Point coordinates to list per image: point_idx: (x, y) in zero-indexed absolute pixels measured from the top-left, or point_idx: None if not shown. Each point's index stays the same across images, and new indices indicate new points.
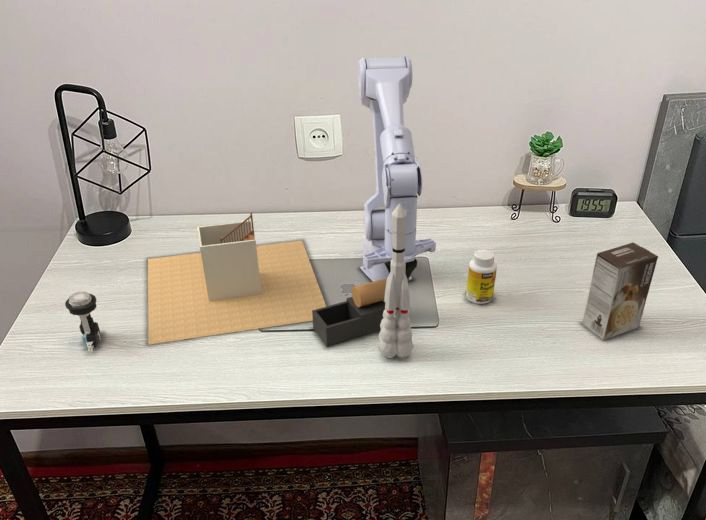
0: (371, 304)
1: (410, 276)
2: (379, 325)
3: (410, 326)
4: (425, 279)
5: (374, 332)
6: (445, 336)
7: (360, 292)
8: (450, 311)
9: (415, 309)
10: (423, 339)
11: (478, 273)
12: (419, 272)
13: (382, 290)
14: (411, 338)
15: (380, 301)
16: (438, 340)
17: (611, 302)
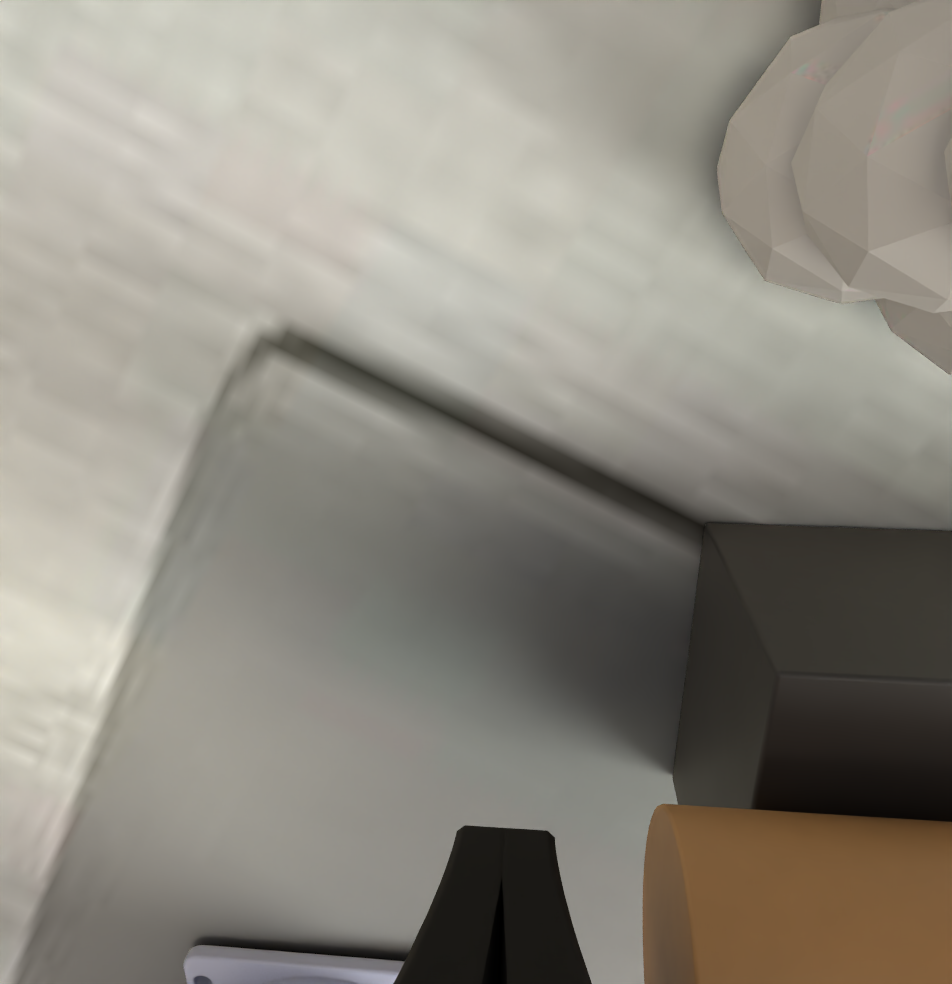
0: (941, 820)
1: (188, 977)
2: (848, 560)
3: (895, 23)
4: (92, 907)
5: (880, 530)
6: (256, 134)
7: None
8: (48, 488)
9: (334, 651)
10: (501, 201)
11: None
12: (104, 980)
13: (916, 977)
14: (793, 43)
15: None
16: (360, 101)
17: None
